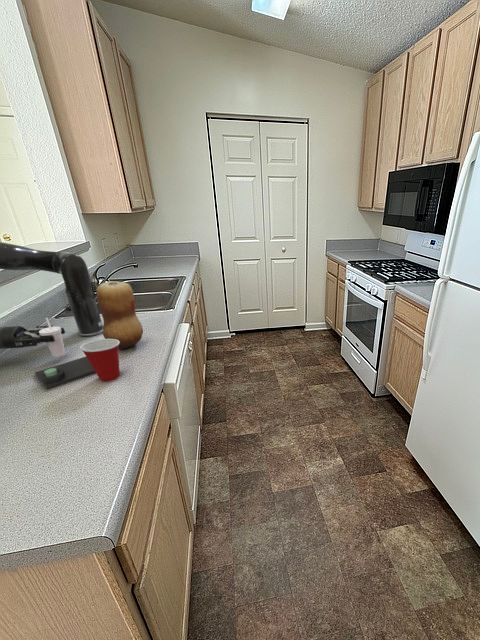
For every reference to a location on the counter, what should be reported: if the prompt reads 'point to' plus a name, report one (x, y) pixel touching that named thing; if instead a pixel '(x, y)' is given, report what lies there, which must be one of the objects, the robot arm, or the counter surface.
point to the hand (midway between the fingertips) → (58, 334)
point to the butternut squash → (119, 313)
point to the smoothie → (57, 345)
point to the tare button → (51, 372)
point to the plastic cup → (103, 357)
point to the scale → (66, 373)
